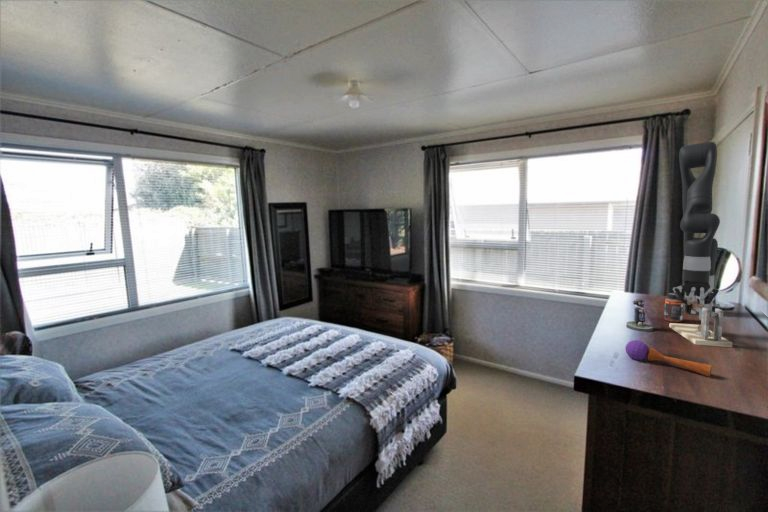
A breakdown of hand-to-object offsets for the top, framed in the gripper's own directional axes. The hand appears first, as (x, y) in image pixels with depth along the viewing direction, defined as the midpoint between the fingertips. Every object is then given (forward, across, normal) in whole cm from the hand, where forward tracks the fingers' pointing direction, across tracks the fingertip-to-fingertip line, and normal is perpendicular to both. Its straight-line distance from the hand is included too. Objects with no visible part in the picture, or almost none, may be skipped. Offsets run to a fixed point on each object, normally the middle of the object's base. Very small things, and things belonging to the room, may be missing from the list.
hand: (693, 314), depth 132 cm
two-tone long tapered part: (+7, +21, +36) cm, 43 cm away
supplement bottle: (+7, 0, -16) cm, 17 cm away
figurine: (+7, +16, -1) cm, 18 cm away
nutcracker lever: (0, 0, +5) cm, 5 cm away
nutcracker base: (+7, 0, +4) cm, 8 cm away
